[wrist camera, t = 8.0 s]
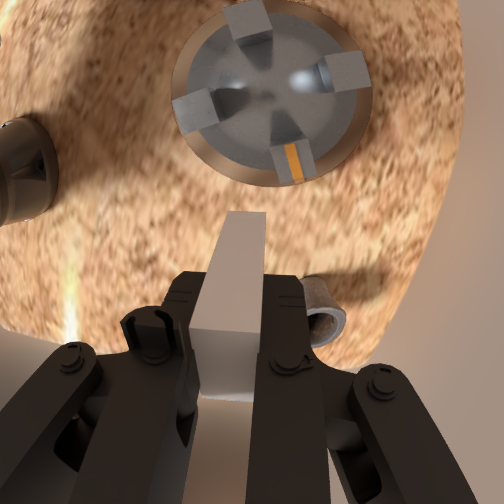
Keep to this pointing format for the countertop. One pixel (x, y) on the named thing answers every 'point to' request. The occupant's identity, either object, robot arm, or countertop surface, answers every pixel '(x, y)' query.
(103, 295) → the countertop surface
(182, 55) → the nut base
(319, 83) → the four-tab metal disc
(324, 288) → the pipe
